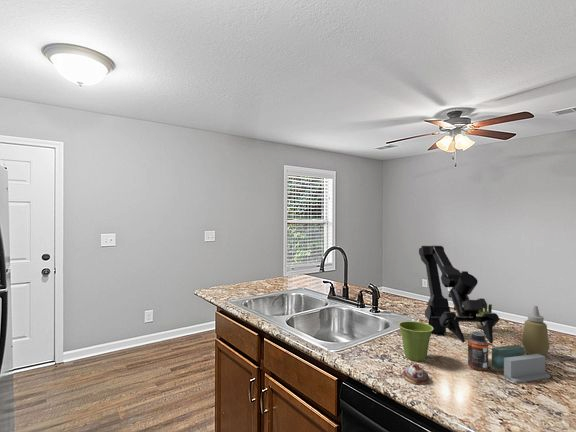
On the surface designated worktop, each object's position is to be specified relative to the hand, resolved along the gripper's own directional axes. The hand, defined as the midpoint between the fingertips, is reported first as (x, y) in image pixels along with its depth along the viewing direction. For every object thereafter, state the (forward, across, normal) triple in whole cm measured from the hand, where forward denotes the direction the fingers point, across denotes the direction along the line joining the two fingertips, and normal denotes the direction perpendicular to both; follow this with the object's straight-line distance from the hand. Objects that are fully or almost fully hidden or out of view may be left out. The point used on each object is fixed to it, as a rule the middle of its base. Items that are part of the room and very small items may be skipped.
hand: (477, 342), depth 109 cm
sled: (+3, +9, +9) cm, 13 cm away
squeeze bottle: (-2, +27, +14) cm, 31 cm away
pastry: (+13, -24, 0) cm, 27 cm away
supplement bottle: (+6, 0, +6) cm, 8 cm away
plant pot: (+1, -19, +10) cm, 21 cm away
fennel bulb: (-22, +24, +34) cm, 47 cm away
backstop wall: (+10, +12, +2) cm, 15 cm away
